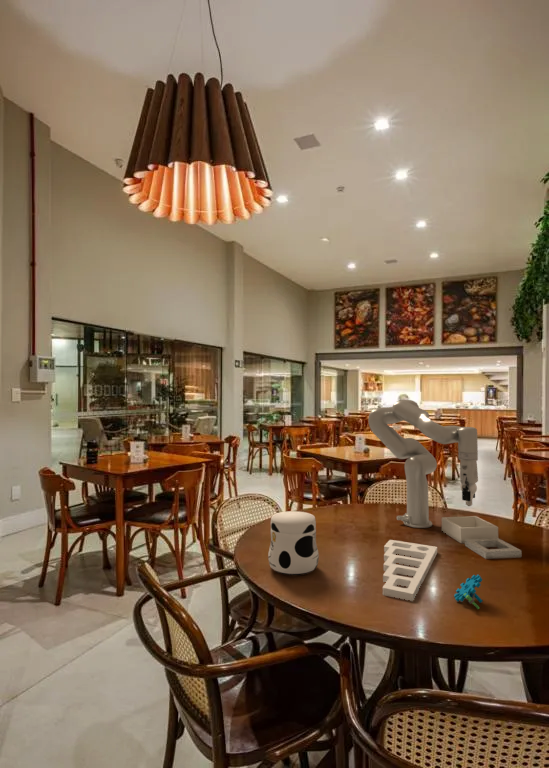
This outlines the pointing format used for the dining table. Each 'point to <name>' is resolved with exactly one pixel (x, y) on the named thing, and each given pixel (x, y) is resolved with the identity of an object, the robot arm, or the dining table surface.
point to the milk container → (293, 543)
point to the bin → (468, 528)
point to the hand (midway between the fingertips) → (468, 498)
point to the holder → (406, 568)
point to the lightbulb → (472, 491)
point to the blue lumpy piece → (469, 590)
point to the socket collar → (502, 552)
